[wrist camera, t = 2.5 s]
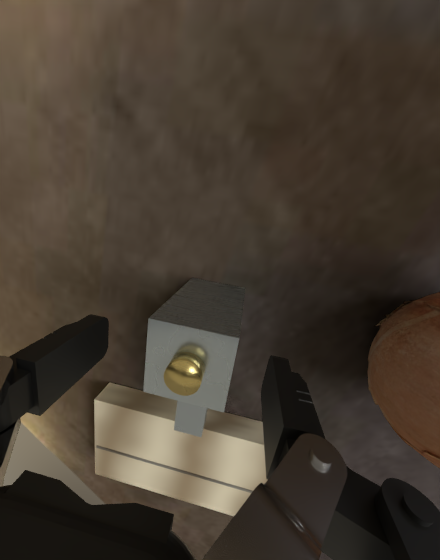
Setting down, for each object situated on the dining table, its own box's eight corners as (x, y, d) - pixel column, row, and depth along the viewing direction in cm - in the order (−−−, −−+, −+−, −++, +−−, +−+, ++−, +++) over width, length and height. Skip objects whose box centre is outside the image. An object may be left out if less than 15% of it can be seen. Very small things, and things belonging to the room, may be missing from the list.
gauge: (245, 288, 16) (237, 349, 8) (223, 396, 18) (202, 515, 11) (192, 277, 16) (139, 326, 9) (178, 385, 19) (129, 493, 11)
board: (319, 436, 18) (327, 462, 16) (292, 506, 20) (296, 536, 19) (109, 382, 20) (93, 400, 18) (108, 452, 22) (94, 474, 20)
